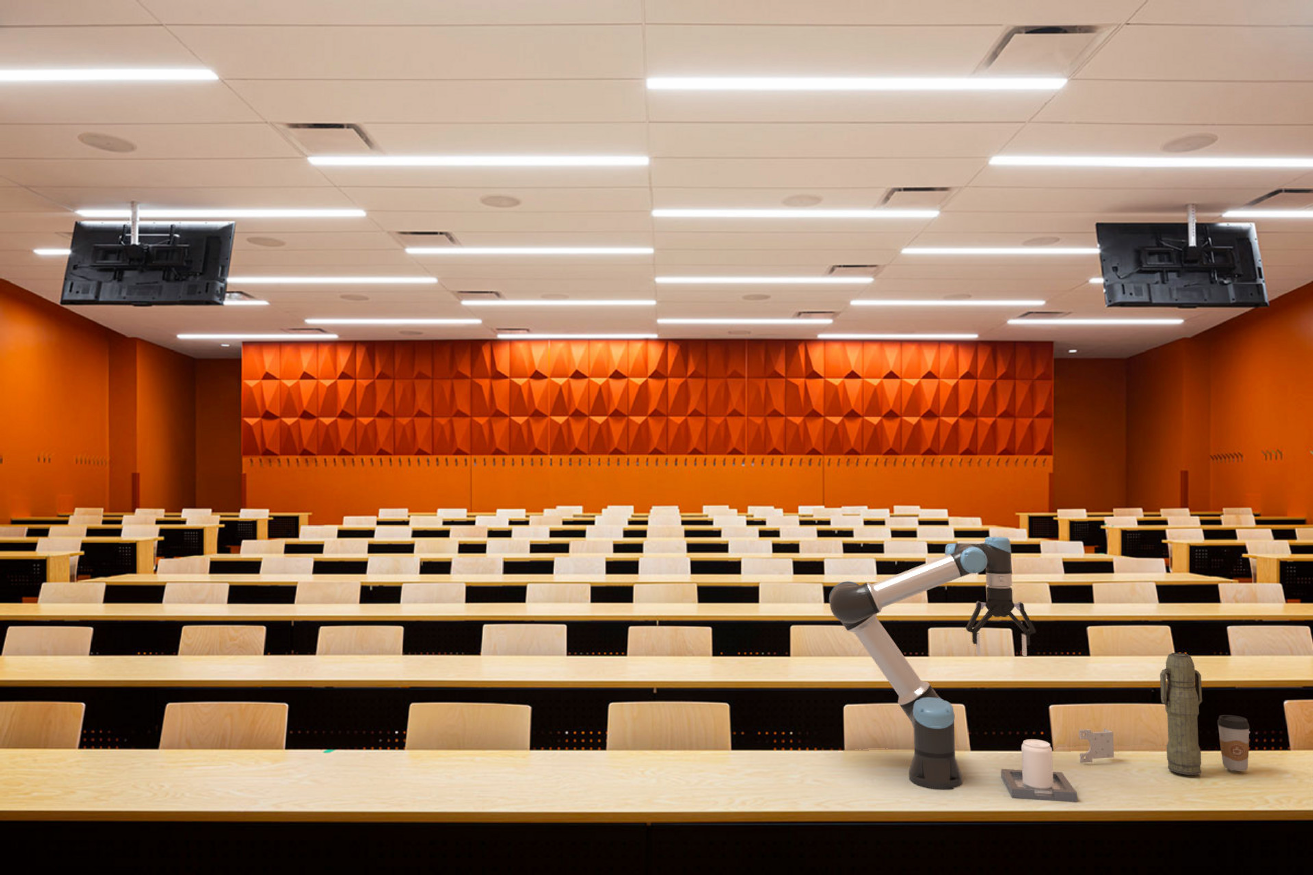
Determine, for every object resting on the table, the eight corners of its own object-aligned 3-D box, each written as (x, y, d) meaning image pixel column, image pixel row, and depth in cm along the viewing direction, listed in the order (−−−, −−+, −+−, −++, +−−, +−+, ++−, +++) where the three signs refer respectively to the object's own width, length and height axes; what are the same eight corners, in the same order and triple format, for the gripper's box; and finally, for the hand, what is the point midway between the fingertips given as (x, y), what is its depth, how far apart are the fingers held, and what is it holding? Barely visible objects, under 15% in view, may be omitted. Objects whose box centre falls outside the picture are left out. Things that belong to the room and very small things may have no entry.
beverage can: (1053, 782, 251) (1051, 740, 252) (1053, 791, 244) (1051, 748, 244) (1023, 778, 254) (1021, 737, 255) (1022, 787, 247) (1020, 745, 248)
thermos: (1213, 773, 260) (1208, 656, 262) (1177, 775, 258) (1172, 658, 260) (1191, 764, 269) (1186, 650, 270) (1156, 766, 267) (1152, 652, 269)
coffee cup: (1222, 770, 263) (1220, 720, 263) (1216, 761, 270) (1214, 713, 271) (1254, 773, 260) (1252, 723, 260) (1247, 764, 267) (1245, 715, 268)
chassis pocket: (1012, 797, 243) (1011, 788, 243) (1001, 777, 259) (1000, 768, 259) (1077, 801, 239) (1076, 792, 239) (1062, 780, 256) (1061, 772, 256)
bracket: (1105, 756, 277) (1103, 724, 278) (1114, 760, 273) (1112, 728, 274) (1073, 758, 276) (1072, 726, 276) (1081, 762, 272) (1080, 730, 272)
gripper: (958, 587, 269) (960, 656, 268) (1044, 588, 263) (1047, 658, 262) (955, 584, 276) (957, 651, 275) (1039, 585, 271) (1041, 653, 270)
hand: (1001, 655), depth 269 cm, fingers open, 13 cm apart
